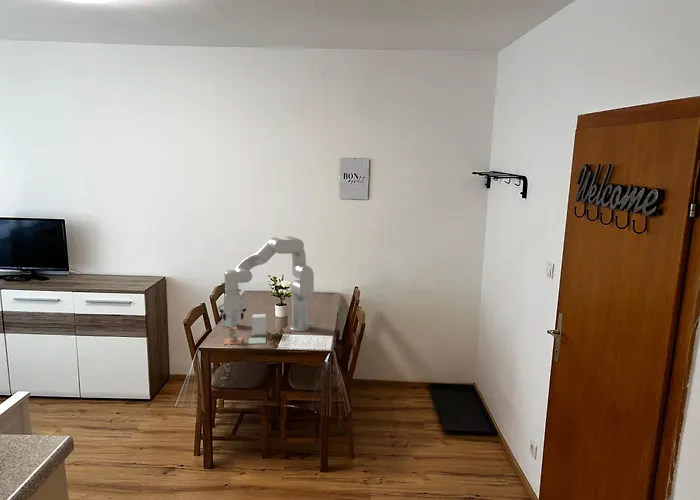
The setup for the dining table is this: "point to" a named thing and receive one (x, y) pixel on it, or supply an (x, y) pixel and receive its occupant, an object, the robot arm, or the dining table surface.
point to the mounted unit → (259, 326)
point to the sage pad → (257, 340)
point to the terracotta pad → (227, 341)
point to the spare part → (233, 334)
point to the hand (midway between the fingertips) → (233, 319)
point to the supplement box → (230, 318)
